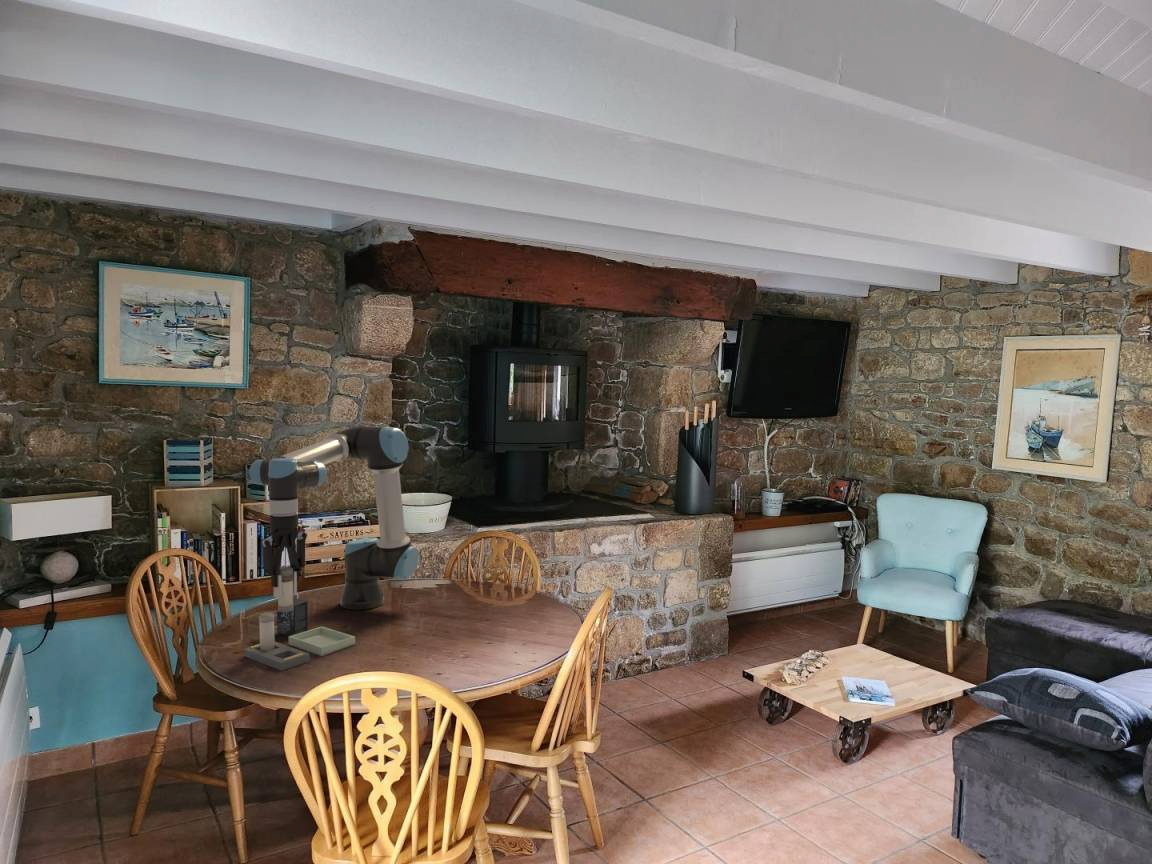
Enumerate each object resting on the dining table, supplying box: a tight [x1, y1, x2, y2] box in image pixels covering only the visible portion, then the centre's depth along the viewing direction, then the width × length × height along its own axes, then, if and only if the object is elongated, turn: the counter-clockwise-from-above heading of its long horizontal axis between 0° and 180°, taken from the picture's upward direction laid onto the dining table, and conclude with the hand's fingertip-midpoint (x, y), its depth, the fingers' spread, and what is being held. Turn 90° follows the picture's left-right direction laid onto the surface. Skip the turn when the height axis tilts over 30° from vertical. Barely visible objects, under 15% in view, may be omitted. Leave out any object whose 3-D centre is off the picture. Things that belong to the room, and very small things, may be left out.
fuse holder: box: [243, 641, 311, 672], centre depth 222 cm, size 18×9×2 cm, turn 55°
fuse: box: [258, 612, 276, 652], centre depth 224 cm, size 4×4×12 cm
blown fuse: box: [277, 566, 294, 612], centre depth 218 cm, size 4×4×12 cm
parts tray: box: [287, 626, 356, 657], centre depth 234 cm, size 16×12×2 cm
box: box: [276, 597, 309, 637], centre depth 244 cm, size 8×6×11 cm
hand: (285, 595), depth 218 cm, fingers closed on blown fuse, 4 cm apart
